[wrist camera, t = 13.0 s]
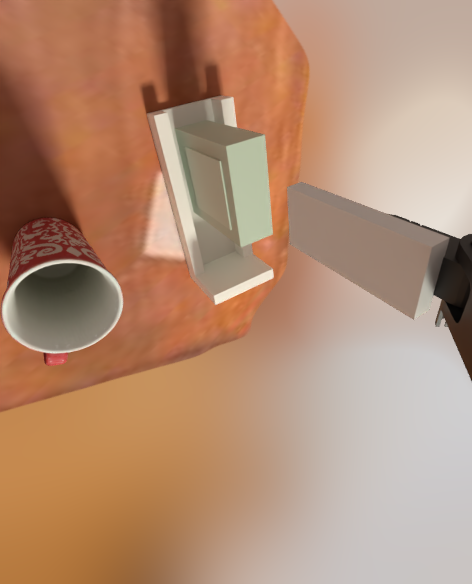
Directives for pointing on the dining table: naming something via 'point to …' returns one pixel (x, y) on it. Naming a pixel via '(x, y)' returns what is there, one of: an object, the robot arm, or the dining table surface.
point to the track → (192, 228)
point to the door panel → (227, 179)
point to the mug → (58, 291)
